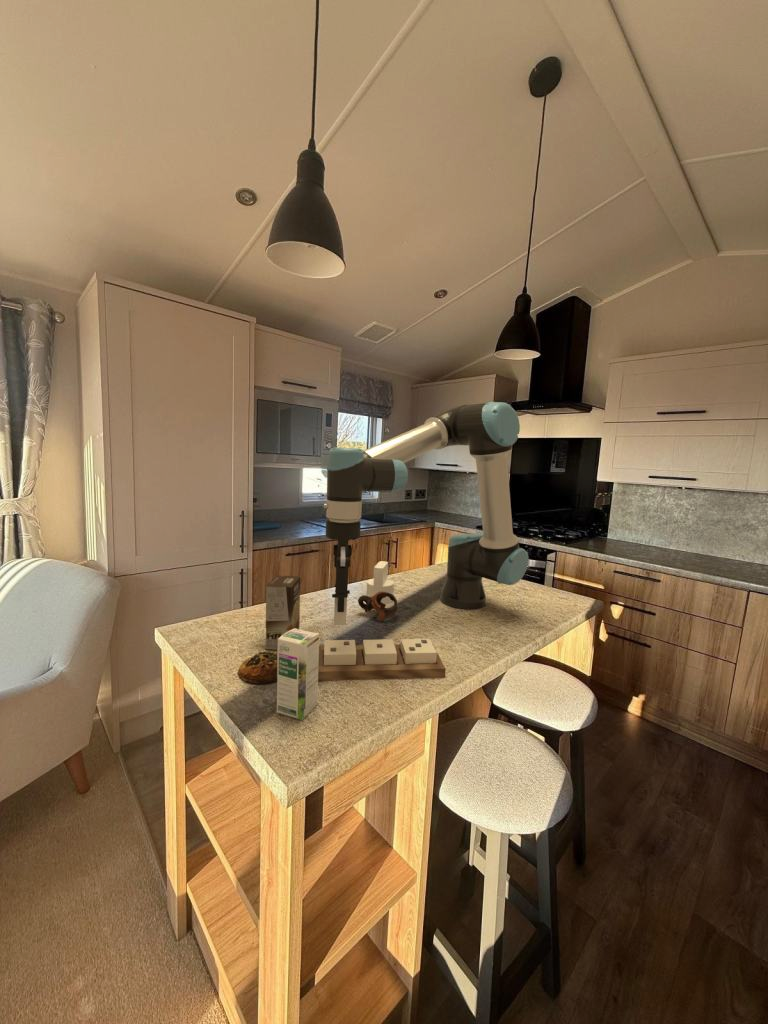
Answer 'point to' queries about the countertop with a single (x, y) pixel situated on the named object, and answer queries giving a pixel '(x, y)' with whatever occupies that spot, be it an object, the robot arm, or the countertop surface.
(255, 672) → the bread roll
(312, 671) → the syrup box
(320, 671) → the board
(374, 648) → the tile one
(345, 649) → the tile two
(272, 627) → the coffee box
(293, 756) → the countertop surface
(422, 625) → the countertop surface
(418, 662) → the tile three
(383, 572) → the base with upright slab
